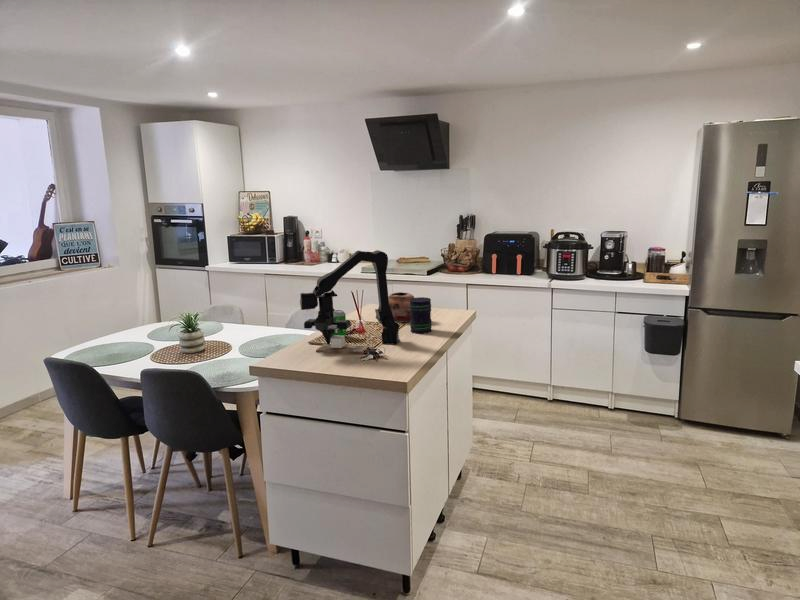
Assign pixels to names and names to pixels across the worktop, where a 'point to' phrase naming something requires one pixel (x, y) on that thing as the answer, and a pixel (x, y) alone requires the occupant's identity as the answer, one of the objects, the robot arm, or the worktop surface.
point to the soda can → (338, 316)
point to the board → (343, 349)
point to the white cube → (337, 341)
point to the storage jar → (420, 315)
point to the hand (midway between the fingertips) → (328, 344)
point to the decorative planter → (400, 306)
